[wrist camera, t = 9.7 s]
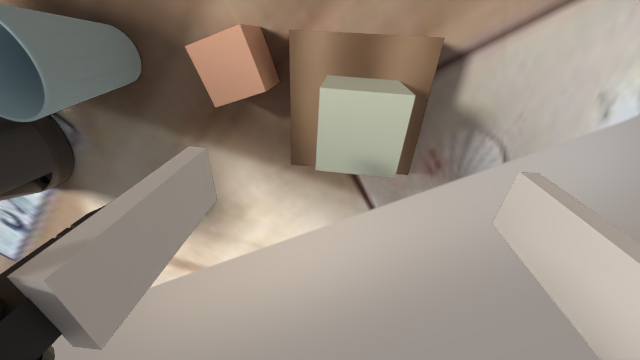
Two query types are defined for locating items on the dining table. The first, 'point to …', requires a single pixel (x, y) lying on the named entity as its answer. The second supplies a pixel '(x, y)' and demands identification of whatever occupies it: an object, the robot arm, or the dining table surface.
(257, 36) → the terracotta cube
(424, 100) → the walnut block
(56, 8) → the dining table surface
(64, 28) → the cup
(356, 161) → the pale green cube
